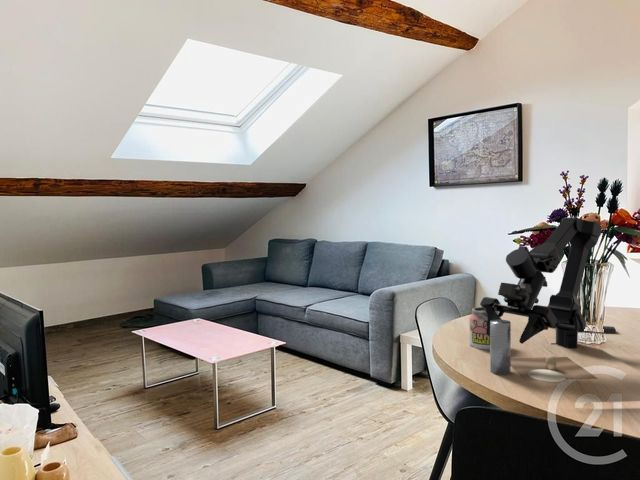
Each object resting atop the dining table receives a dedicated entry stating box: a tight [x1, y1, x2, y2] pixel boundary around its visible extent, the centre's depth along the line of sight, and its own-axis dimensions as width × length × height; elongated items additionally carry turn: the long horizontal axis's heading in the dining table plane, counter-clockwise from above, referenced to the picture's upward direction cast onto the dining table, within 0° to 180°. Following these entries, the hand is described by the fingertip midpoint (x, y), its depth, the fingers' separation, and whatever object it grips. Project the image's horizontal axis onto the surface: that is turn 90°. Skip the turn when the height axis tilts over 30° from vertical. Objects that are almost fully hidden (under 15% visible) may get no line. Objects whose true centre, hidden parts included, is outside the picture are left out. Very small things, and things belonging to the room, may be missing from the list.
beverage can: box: [468, 306, 503, 350], centre depth 145 cm, size 9×8×12 cm
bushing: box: [489, 319, 512, 376], centre depth 123 cm, size 6×6×14 cm
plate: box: [511, 356, 599, 383], centre depth 125 cm, size 18×17×1 cm
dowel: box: [545, 355, 557, 370], centre depth 124 cm, size 2×2×3 cm
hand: (503, 338), depth 124 cm, fingers open, 9 cm apart
